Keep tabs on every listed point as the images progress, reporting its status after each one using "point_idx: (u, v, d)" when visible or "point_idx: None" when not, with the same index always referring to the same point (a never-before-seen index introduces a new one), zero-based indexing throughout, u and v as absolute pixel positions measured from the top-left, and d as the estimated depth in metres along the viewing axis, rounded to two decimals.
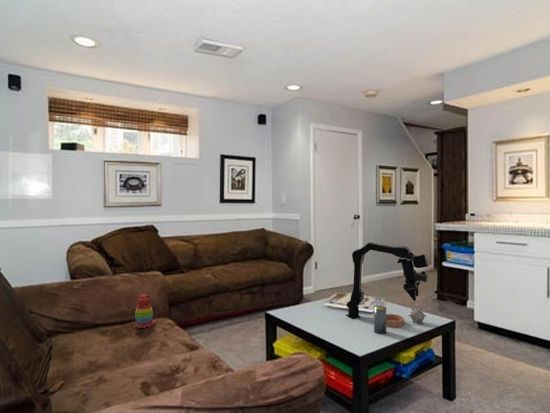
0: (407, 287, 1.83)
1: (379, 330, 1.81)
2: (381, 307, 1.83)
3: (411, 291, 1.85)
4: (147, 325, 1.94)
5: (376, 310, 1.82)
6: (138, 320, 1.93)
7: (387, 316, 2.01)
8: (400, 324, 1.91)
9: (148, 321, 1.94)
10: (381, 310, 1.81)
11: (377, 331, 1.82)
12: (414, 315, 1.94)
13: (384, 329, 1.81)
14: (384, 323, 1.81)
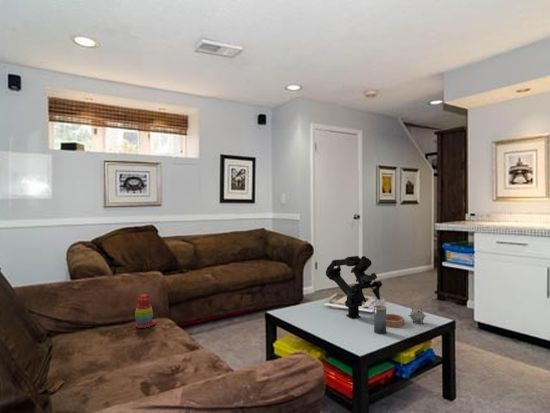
0: (351, 290, 1.93)
1: (379, 330, 1.81)
2: (381, 307, 1.83)
3: (359, 293, 1.92)
4: (147, 325, 1.94)
5: (376, 310, 1.82)
6: (138, 320, 1.93)
7: (387, 316, 2.01)
8: (400, 324, 1.91)
9: (148, 321, 1.94)
10: (381, 310, 1.81)
11: (377, 331, 1.82)
12: (414, 315, 1.94)
13: (384, 329, 1.81)
14: (384, 323, 1.81)
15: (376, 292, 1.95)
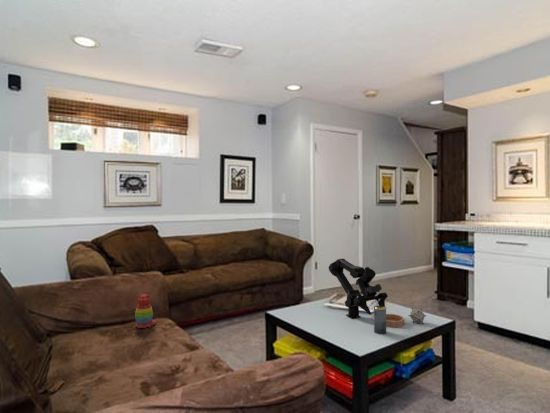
0: (355, 302, 1.88)
1: (379, 330, 1.81)
2: (381, 307, 1.83)
3: (363, 305, 1.87)
4: (147, 325, 1.94)
5: (376, 310, 1.82)
6: (138, 320, 1.93)
7: (387, 316, 2.01)
8: (400, 324, 1.91)
9: (148, 321, 1.94)
10: (381, 310, 1.81)
11: (377, 331, 1.82)
12: (414, 315, 1.94)
13: (384, 329, 1.81)
14: (384, 323, 1.81)
15: (381, 304, 1.90)
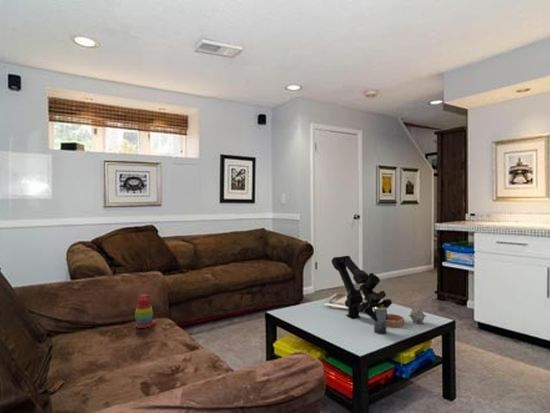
0: (359, 308, 1.85)
1: (379, 330, 1.81)
2: (381, 307, 1.83)
3: (370, 312, 1.84)
4: (147, 325, 1.94)
5: (376, 310, 1.82)
6: (138, 320, 1.93)
7: (387, 316, 2.01)
8: (400, 324, 1.91)
9: (148, 321, 1.94)
10: (381, 310, 1.81)
11: (377, 331, 1.82)
12: (414, 315, 1.94)
13: (384, 329, 1.81)
14: (384, 323, 1.81)
15: None
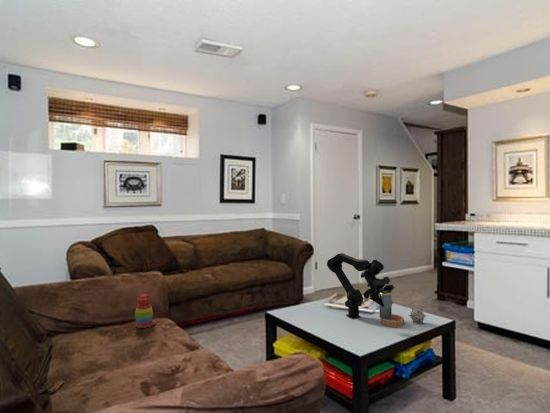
0: (365, 295, 1.86)
1: (386, 315, 1.84)
2: (386, 292, 1.86)
3: (376, 298, 1.86)
4: (147, 325, 1.94)
5: (383, 295, 1.84)
6: (138, 320, 1.93)
7: None
8: (400, 324, 1.91)
9: (148, 321, 1.94)
10: (388, 295, 1.83)
11: (383, 316, 1.84)
12: (414, 315, 1.94)
13: (390, 314, 1.84)
14: (390, 308, 1.84)
15: None
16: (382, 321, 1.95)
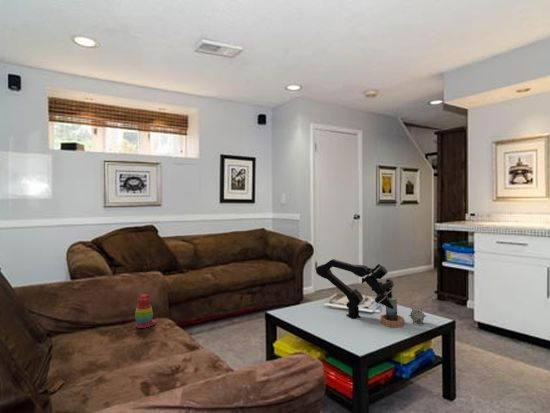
0: (378, 300, 1.90)
1: (395, 319, 1.94)
2: (392, 297, 1.96)
3: (385, 301, 1.93)
4: (147, 325, 1.94)
5: (391, 301, 1.93)
6: (138, 320, 1.93)
7: None
8: (400, 324, 1.91)
9: (148, 321, 1.94)
10: (395, 300, 1.94)
11: None
12: (414, 315, 1.94)
13: (397, 317, 1.95)
14: None
15: None
16: (382, 321, 1.95)
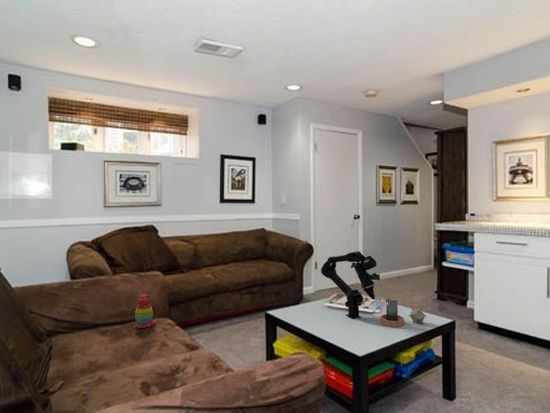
0: (366, 285, 1.91)
1: (395, 320, 1.94)
2: (392, 298, 1.96)
3: (369, 290, 1.93)
4: (147, 325, 1.94)
5: (392, 301, 1.93)
6: (138, 320, 1.93)
7: None
8: (400, 324, 1.91)
9: (148, 321, 1.94)
10: (396, 300, 1.94)
11: None
12: (414, 315, 1.94)
13: (397, 318, 1.95)
14: (397, 312, 1.95)
15: None
16: (382, 321, 1.95)
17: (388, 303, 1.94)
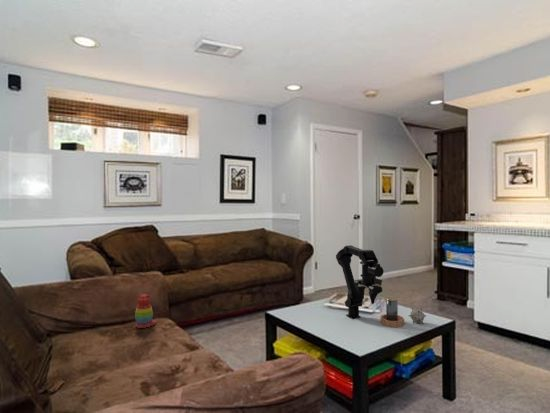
0: (376, 290, 1.84)
1: (395, 320, 1.94)
2: (392, 298, 1.96)
3: (373, 294, 1.88)
4: (147, 325, 1.94)
5: (392, 301, 1.93)
6: (138, 320, 1.93)
7: None
8: (400, 324, 1.91)
9: (148, 321, 1.94)
10: (396, 300, 1.94)
11: None
12: (414, 315, 1.94)
13: (397, 318, 1.95)
14: (397, 312, 1.95)
15: (362, 291, 1.98)
16: (382, 321, 1.95)
17: (388, 303, 1.94)
